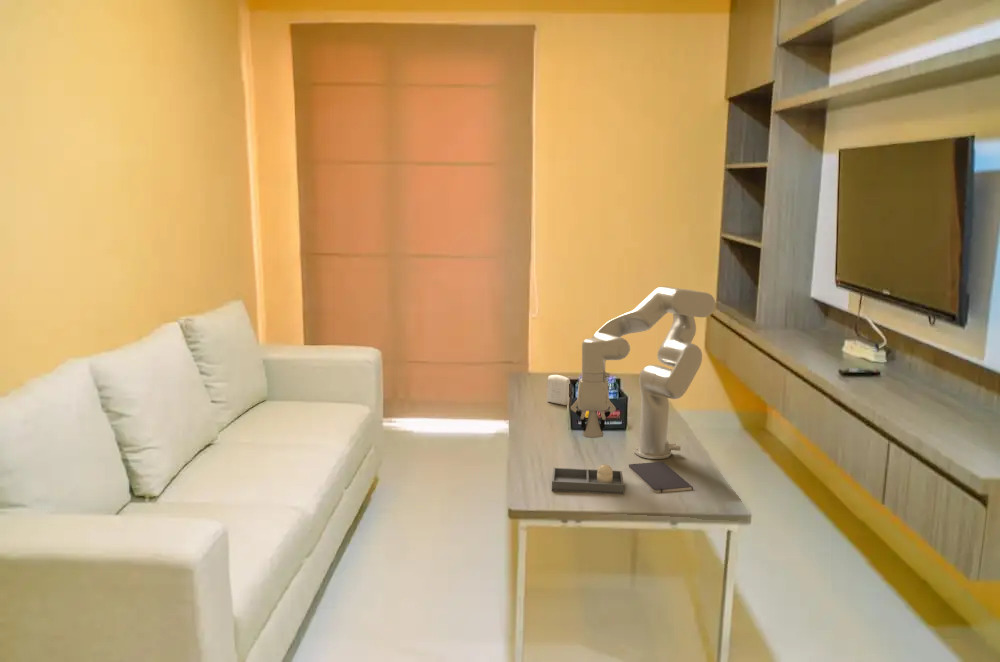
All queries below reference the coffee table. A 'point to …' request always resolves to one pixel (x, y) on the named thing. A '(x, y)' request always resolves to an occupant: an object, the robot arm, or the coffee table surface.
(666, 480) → the notebook
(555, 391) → the photo printer
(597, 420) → the flask
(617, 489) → the tray
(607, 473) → the cream egg
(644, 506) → the coffee table surface
